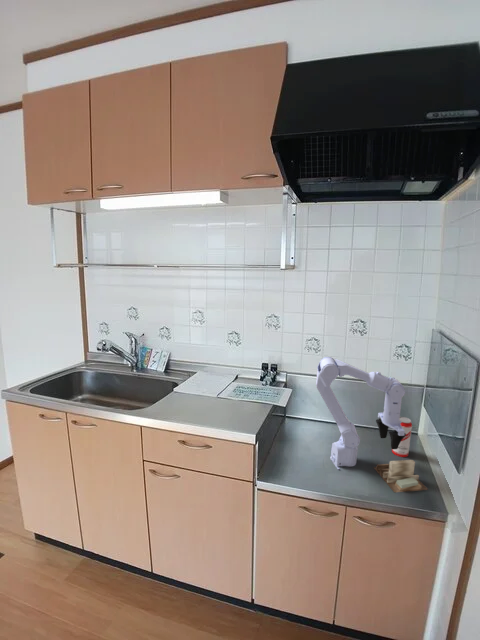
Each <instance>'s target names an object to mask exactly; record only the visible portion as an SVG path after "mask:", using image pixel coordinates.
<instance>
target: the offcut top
mask: <svg viewBox="0 0 480 640" xmlns="http://www.w3.org/2000/svg"><path fill="white" fill-rule="evenodd" d="M396 484H397V485H399V486H400V487H401V488H406V487H411V486H416V485H418V481H417V480H415V479H414V478H413V477H412V478H407V479H402V480H397V482H396Z"/></svg>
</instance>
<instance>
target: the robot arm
mask: <svg viewBox="0 0 480 640" xmlns="http://www.w3.org/2000/svg"><path fill="white" fill-rule="evenodd" d="M316 370H317V371H316V378H315V380H316V381H315V384H316V385H315V386H316V388H317V390H318V392H319V395H320V396H321V397H322V400H323V401H324V403H325V405H326V407H327V409H328V410H329V413H330V415H331V417H332V418H333V419H334V421H335V423H336V424H337V427H338V430H339V432H340V434H341V435H340V437H339V439H338V441H335V442H332V444H331V450H330V451H331V452H330V457H329V459H330V461H331V462H332V463H333V465H334V466H335V468H336V470H339V471H340V470H341V468H340V467H354V466H356V465H357V458H358V450H359V449H358V448H359V445H360V443H361V438H360V436H359V435H358V432H357V429H356V426H355V424H354V423H353V422H351V421H350V420H349V418H348V417H347V416H346V415H347V414H346V413H345V412H344V409H343V407H342V406H341V404H340V402H339V401H338V399H337V396H336V395H335V393H334V392H333V389H332V388H331V385H332V383H333V382H334V380H336V379H337V377H338V376H339V378H342V377H344V376H346V375H347V376H350V377H353V378H356V379H359V380H362V381H364V382H365V383H366V385H367V386H368V387H371V388H372V389H375V390H378V391H380V392H383V393H385V396H384V403H383V412H378V413H377V418H378V419H375V422H376V426H377V428H378V430H379V431H378V432H379V437H380V439H386V438H387V436H388V433H389V436H390V448H391V450H392V449H397V448H398V446H399V444H400V442H401V440H402V439H403V438H404V437H405V436H406V434H405V431H404V430H403V428H402V426H401V423H402V422H401V421H400V420H399V419H400V417H401V408H402V400H403V399H402V398H403V397H404V396H405V394H406V390H405V387H404V385H403V384H402V383H401V382H400V381H399V380H398V379H396V378H395V377H391V376H389V377H388V376H385V375H384V374H382V373H381V372H380V371H370V372H367V371H365V370H363V369H360V368H358V367H355V366H353V365H351V364H349V363H347V362H344V361H342V360H341V359H337V358H333V357H332V356H324V357H322V358H321V359H320V361H319V362H318V365H317V369H316ZM389 428H390V429H392V430H393V431H389ZM388 431H389V432H388Z"/></svg>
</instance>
